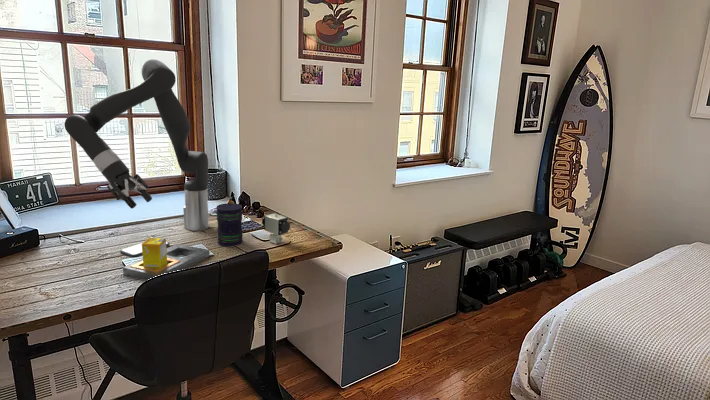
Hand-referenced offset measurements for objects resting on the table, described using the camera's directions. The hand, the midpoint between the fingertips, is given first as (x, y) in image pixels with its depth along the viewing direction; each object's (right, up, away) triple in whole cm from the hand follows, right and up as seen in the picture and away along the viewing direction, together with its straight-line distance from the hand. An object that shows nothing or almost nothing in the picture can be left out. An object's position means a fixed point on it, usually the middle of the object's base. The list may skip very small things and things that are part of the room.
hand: (142, 203), depth 164 cm
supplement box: (+5, -23, -1) cm, 24 cm away
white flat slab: (-7, -18, +18) cm, 26 cm away
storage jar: (+22, -16, +29) cm, 40 cm away
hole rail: (+7, -21, +4) cm, 23 cm away
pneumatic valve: (+40, -16, +32) cm, 54 cm away
